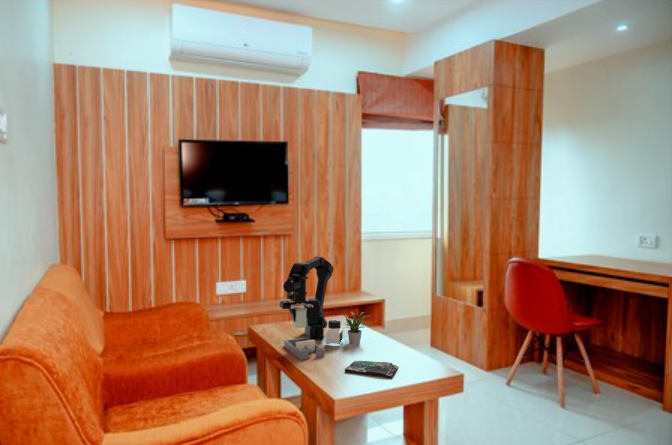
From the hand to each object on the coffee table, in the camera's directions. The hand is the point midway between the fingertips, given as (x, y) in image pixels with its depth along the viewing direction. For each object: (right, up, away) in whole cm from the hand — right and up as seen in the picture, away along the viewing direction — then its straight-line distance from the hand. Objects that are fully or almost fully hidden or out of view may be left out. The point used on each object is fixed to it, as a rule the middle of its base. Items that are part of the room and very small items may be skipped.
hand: (299, 321), depth 232 cm
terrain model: (+33, -16, -26) cm, 45 cm away
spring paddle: (+4, -13, -8) cm, 16 cm away
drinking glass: (+5, -12, +26) cm, 29 cm away
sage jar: (0, -3, 0) cm, 3 cm away
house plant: (+28, -13, +10) cm, 33 cm away
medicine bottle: (+17, -13, +7) cm, 22 cm away
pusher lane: (+2, -13, -4) cm, 14 cm away
